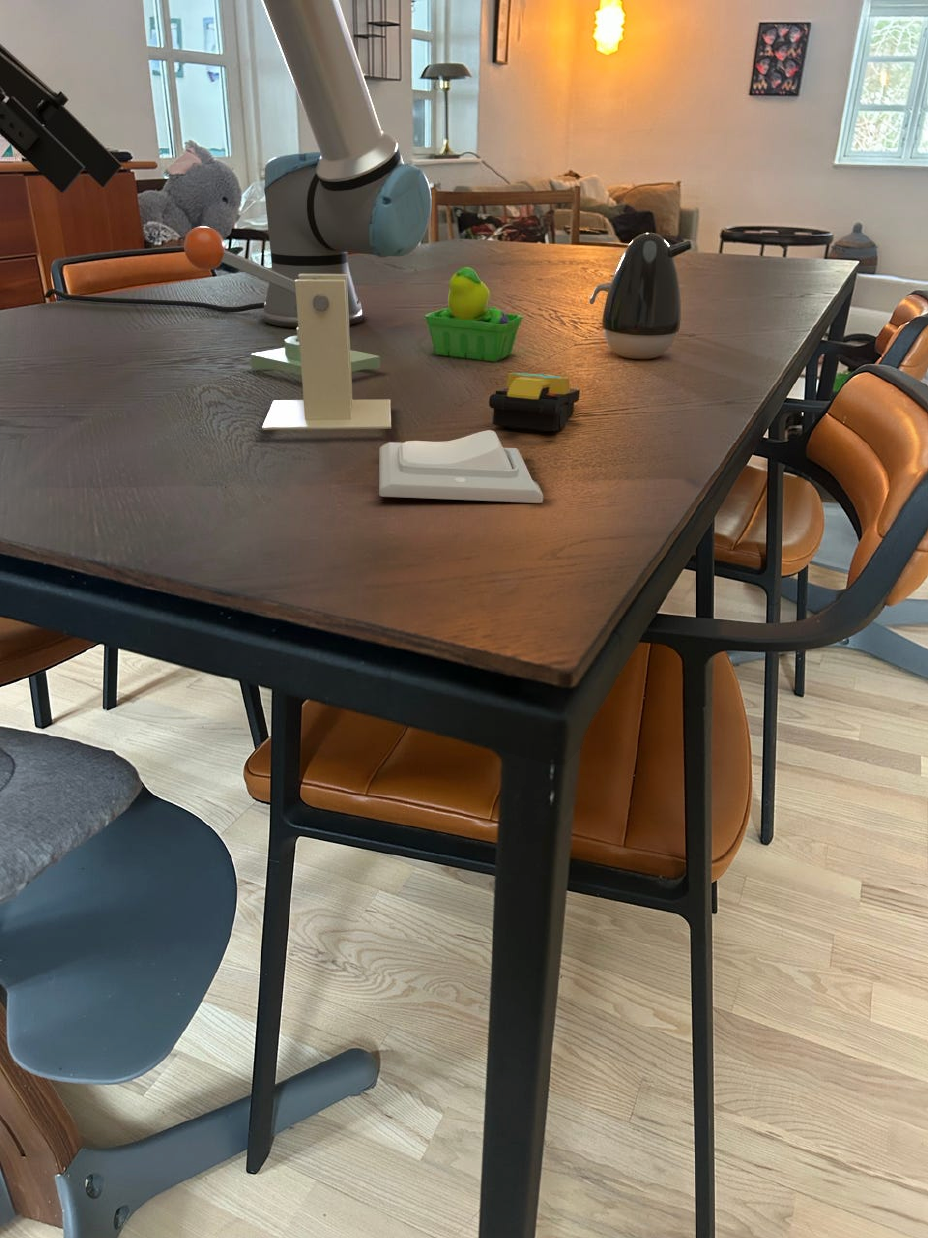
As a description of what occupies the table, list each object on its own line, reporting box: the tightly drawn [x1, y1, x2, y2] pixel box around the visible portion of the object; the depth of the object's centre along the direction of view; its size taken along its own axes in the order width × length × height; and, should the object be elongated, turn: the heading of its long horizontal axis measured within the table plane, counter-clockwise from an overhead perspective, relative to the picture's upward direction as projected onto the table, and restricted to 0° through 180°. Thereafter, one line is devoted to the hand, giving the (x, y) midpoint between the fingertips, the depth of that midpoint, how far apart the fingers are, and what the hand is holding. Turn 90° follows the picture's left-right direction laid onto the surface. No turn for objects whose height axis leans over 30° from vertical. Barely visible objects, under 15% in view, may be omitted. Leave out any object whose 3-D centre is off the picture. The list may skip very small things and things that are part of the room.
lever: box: [183, 225, 318, 293], centre depth 80 cm, size 14×4×4 cm, turn 95°
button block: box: [250, 335, 381, 377], centre depth 106 cm, size 12×10×4 cm
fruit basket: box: [424, 266, 524, 363], centre depth 114 cm, size 11×9×11 cm
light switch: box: [378, 429, 544, 504], centre depth 72 cm, size 11×4×13 cm
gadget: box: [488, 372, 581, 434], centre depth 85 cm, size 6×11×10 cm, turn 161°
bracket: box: [261, 274, 392, 431], centre depth 84 cm, size 12×10×14 cm
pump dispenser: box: [601, 232, 693, 360], centre depth 115 cm, size 10×10×15 cm
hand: (95, 178), depth 76 cm, fingers open, 13 cm apart
